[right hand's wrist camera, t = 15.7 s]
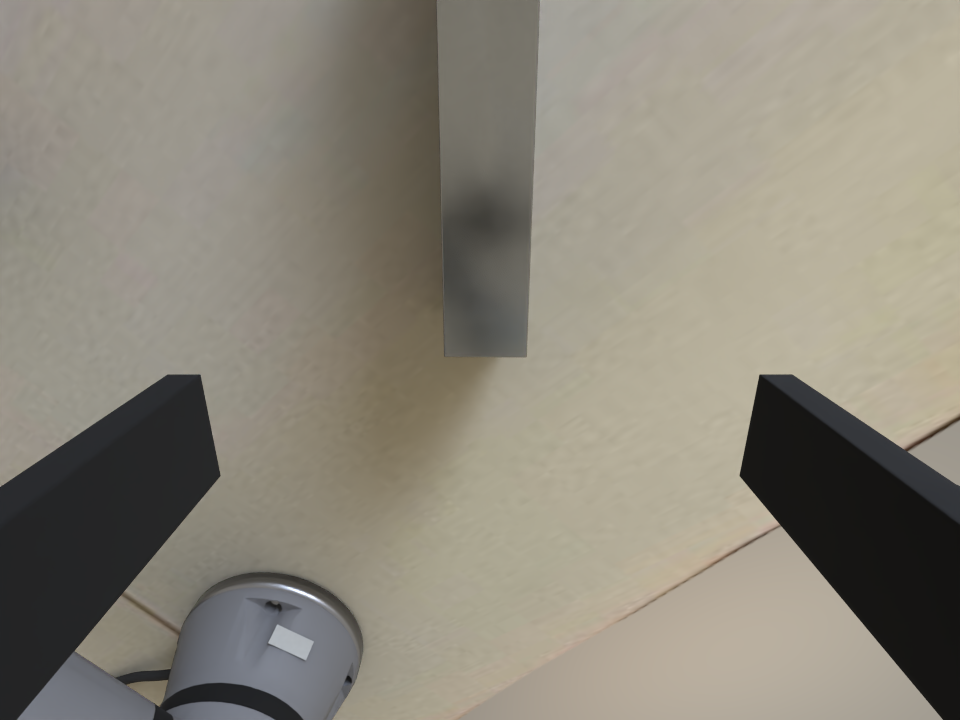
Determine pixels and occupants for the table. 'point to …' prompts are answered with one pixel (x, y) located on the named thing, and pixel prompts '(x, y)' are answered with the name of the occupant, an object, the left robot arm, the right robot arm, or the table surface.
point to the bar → (486, 171)
